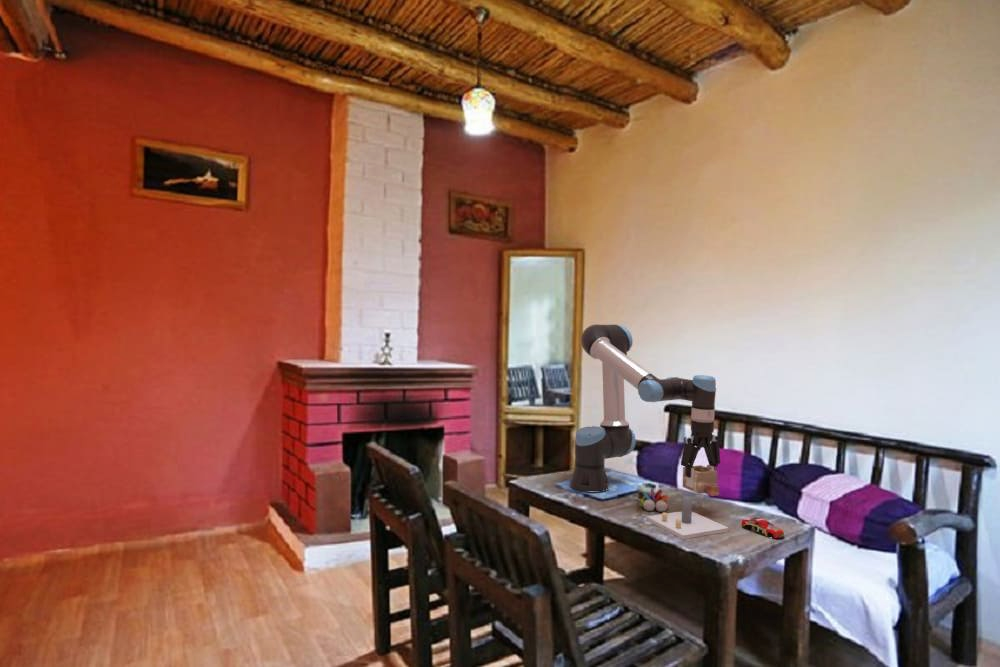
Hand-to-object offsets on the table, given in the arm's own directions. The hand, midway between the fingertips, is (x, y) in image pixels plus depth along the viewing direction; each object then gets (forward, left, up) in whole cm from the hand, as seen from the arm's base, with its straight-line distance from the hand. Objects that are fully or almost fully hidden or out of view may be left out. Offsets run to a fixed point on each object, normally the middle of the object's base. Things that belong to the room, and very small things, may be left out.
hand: (699, 485), depth 197 cm
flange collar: (+2, 0, -2) cm, 2 cm away
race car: (+23, +5, -10) cm, 25 cm away
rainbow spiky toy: (-8, -13, -10) cm, 18 cm away
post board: (+10, -14, -9) cm, 19 cm away
